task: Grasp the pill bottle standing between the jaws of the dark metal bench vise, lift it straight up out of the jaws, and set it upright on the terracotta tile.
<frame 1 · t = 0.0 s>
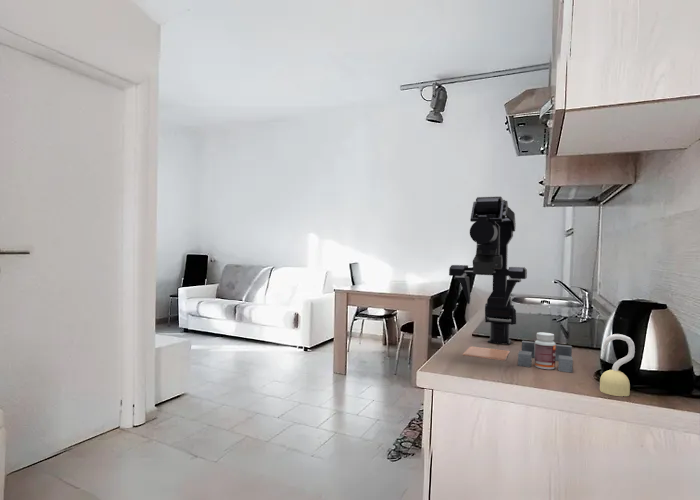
hand: (486, 305, 111), 15 cm above the worktop, fingers open, 9 cm apart
tile: (486, 353, 120), on the worktop
pill bottle: (544, 368, 107), on the worktop
hook: (616, 393, 88), on the worktop
vise: (544, 367, 107), on the worktop
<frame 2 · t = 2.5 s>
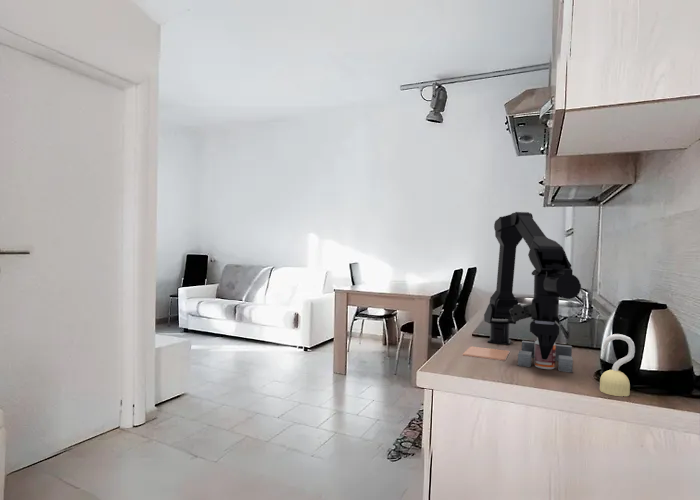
hand: (544, 357, 107), 3 cm above the worktop, fingers closed on pill bottle, 5 cm apart
pill bottle: (544, 367, 107), on the worktop, touching gripper
everything else where it was.
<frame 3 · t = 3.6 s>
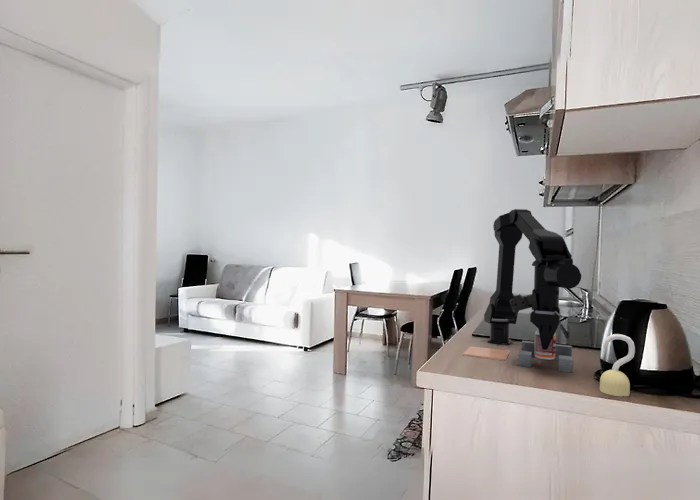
hand: (545, 347, 107), 5 cm above the worktop, fingers closed on pill bottle, 5 cm apart
pill bottle: (544, 358, 107), point 2 cm above the worktop, touching gripper
everything else where it was.
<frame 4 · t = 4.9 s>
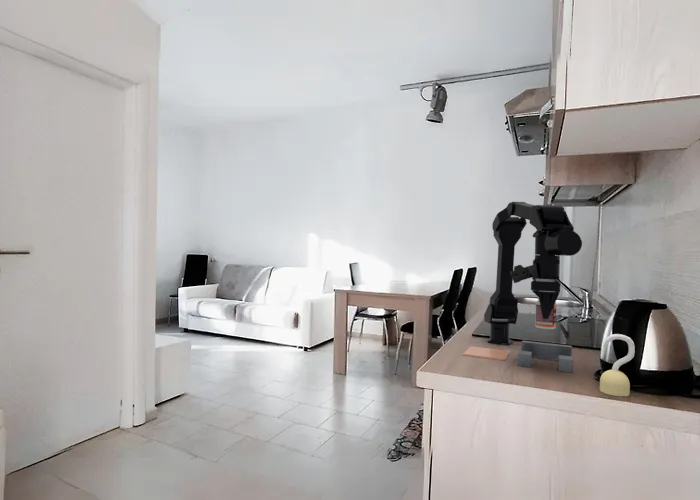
hand: (545, 317, 107), 12 cm above the worktop, fingers closed on pill bottle, 5 cm apart
pill bottle: (545, 328, 107), point 10 cm above the worktop, touching gripper
everything else where it was.
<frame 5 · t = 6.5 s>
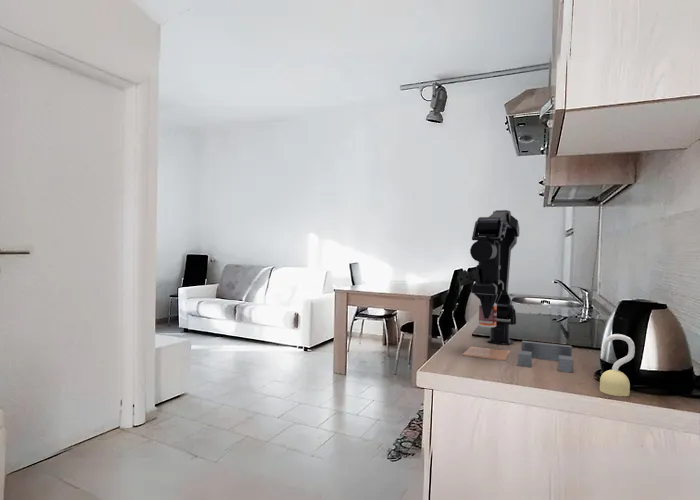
hand: (487, 317, 120), 10 cm above the worktop, fingers closed on pill bottle, 5 cm apart
pill bottle: (487, 326, 120), point 8 cm above the worktop, touching gripper
everything else where it was.
when the fingers open (4 cm above the worktop, at t = 7.8 s): pill bottle drops 1 cm, resting on tile.
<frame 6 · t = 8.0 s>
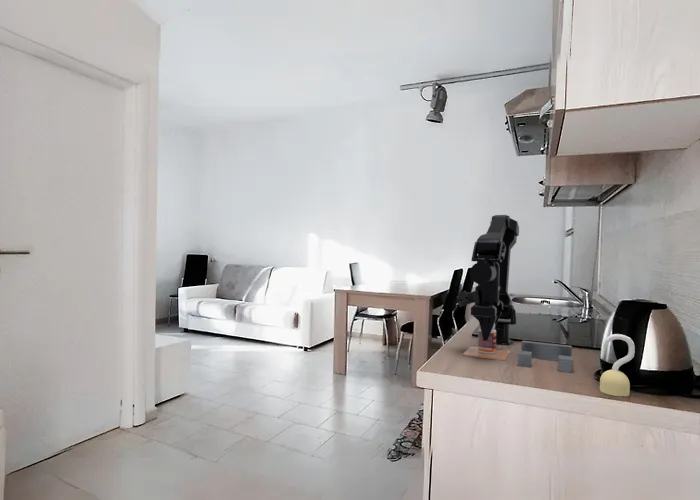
hand: (487, 338, 120), 4 cm above the worktop, fingers open, 6 cm apart
pill bottle: (486, 352, 120), resting on tile
everything else where it was.
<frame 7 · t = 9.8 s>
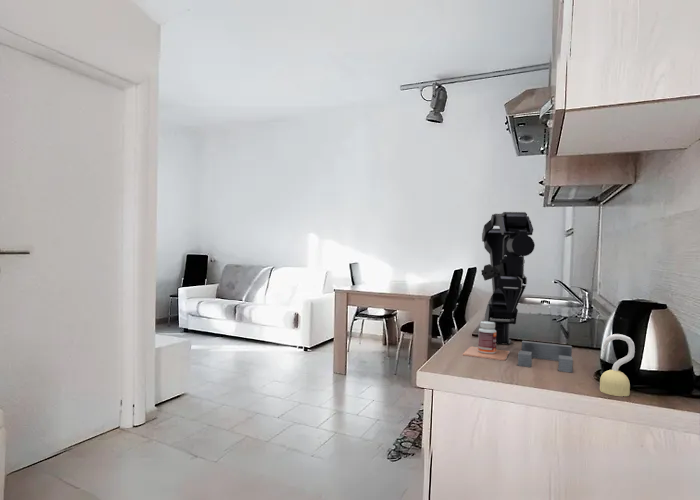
hand: (511, 310, 122), 12 cm above the worktop, fingers open, 9 cm apart
nothing on the worktop moved.
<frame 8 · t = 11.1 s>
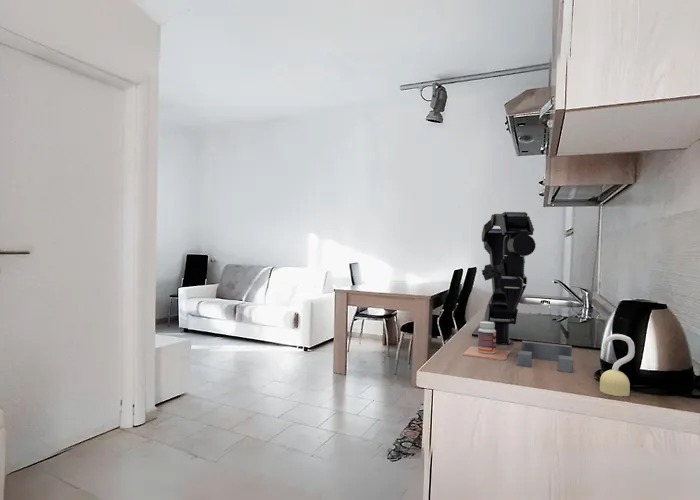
hand: (512, 310, 122), 12 cm above the worktop, fingers open, 9 cm apart
nothing on the worktop moved.
at the end: pill bottle inside the target area on the tile (0.1 cm from its centre), point 0.2 cm above the tile's base; pill bottle tilted 1°; the gripper is holding nothing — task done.
